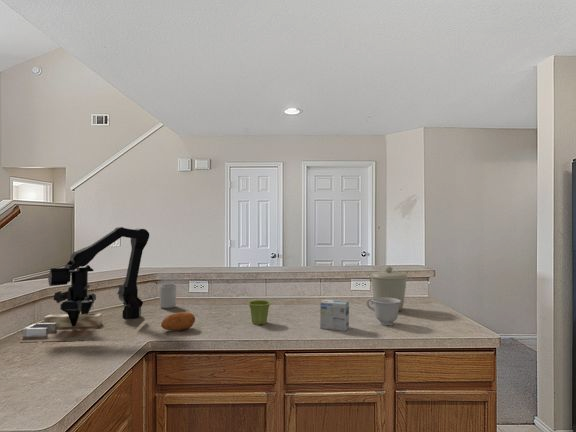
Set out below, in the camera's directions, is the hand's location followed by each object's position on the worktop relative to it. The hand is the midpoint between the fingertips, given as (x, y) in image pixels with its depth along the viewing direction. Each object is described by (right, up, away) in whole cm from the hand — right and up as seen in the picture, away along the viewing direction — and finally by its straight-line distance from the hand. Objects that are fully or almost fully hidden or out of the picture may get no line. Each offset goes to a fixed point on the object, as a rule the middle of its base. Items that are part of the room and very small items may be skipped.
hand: (78, 323), depth 152 cm
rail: (-2, -1, 0) cm, 2 cm away
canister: (+132, -4, +38) cm, 137 cm away
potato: (+39, -3, -1) cm, 39 cm away
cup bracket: (-8, -1, -12) cm, 14 cm away
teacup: (+122, -3, +12) cm, 123 cm away
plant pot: (+70, -3, +11) cm, 71 cm away
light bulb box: (+101, -3, +4) cm, 101 cm away
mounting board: (-2, -2, -6) cm, 7 cm away
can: (+23, -3, +40) cm, 46 cm away
